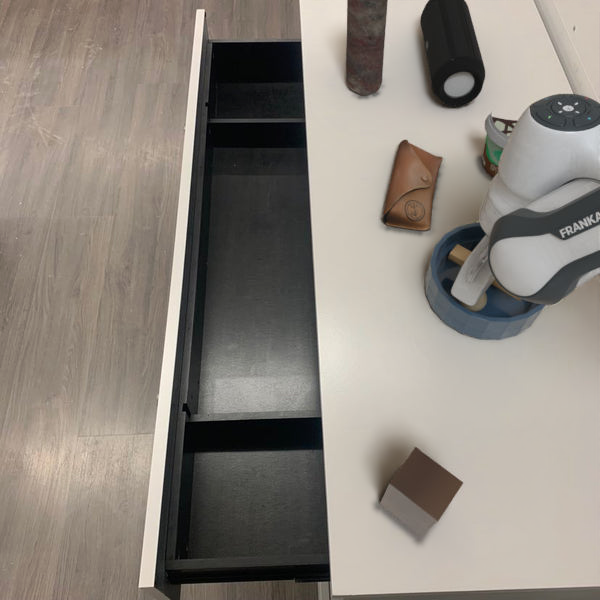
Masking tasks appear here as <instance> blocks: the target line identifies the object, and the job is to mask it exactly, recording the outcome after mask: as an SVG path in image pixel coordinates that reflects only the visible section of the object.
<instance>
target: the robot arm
mask: <svg viewBox="0 0 600 600" xmlns="http://www.w3.org/2000/svg"><path fill="white" fill-rule="evenodd" d="M478 222H480V225H481V227H482V229H483V230H484V232H485V233H486V235H485V236H484V238H483V239H482V240H481V241H480V243H479V244H478V245H477V246H476V247H475V249H474V250H473V251H472V252H471V254H470V255H469V256H468V258H467V259H466V261H465V263H464V264H463V266H462V268H461V270H460V272H459V274H458V276H457V278H456V280H455V282H454V284H453V286H452V289H451V294H452V295H453V296H454V297H456V298H457V299H459V300H460V301H462V302H464V303H465V304H467V305H471V306H473V305H475V304H476V303H477V302H478V301H479V299H480V298H481V297H482V295H483V294H484V293H485V291H486V290H487V289H488V288H489V286H490V285H491V284H492V282H493V281H494V280H496V281H497V282H498V284H499V285H500V286H501V287H502V288H503V289H504V290H506V291H507V292H508V293H510V294H512V295H514V296H516V297H518V298H520V299H523V300H526V301H529V302H533V303H537V304H542V305H545V306H552V305H556V304H557V303H559V302H560V301H561V300H563V299H565V298H566V297H567V296H569V295H570V294H572V293H573V292H574V291H575V290H576V289H577V288H579V287H580V286H582V285H584V284H585V283H587V282H588V281H590V280H591V279H593V278H595V277H596V276H598V275H600V102H599V101H598V100H595V99H594V98H591V97H588V96H585V95H581V94H577V93H556V94H552V95H548V96H546V97H543V98H541V99H538V100H536V101H534V102H533V103H531V104H530V105H529V106H527V107H526V109H524V111H523V112H522V113H521V115H520V116H519V118H518V119H517V123H516V125H515V126H514V128H513V130H512V132H511V134H510V136H509V138H508V140H507V142H506V145H505V147H504V149H503V152H502V154H501V157H500V160H499V165H498V173H497V174H496V175H495V177H494V178H492V180H491V181H490V183H489V185H488V188H487V190H486V193H485V196H484V198H483V201H482V203H481V206H480V208H479V212H478Z"/></svg>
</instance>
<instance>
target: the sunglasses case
mask: <svg viewBox="0 0 600 600" xmlns="http://www.w3.org/2000/svg"><path fill="white" fill-rule="evenodd" d="M443 159H444V158H443V157H442V156H436V155H434V154H433V153H430V152H429V151H426V150H425V149H423V148H421V147H419V146H417V145H415V144H412V143H411V142H409V140H408V139H406V138H405V139H402V140H401V141H400V142H399V143H398V146H397V151H396V154H395V158H394V161H393V162H394V163H393V167H392V171H391V176H390V179H389V184H388V189H387V193H386V197H385V202H384V207H383V212H382V222H383V223H384V224H385V225H386V226H387V227H392V228H397V229H402V230H410V231H419V232H427V231H430V229H431V225H432V214H433V204H434V199H435V192H436V187H437V181H438V177H439V172H440V169H441V165H442V162H443Z"/></svg>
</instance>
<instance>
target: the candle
mask: <svg viewBox="0 0 600 600" xmlns="http://www.w3.org/2000/svg"><path fill="white" fill-rule="evenodd" d="M387 14H388V0H347V1H346V46H345V83H346V85H347V86H348V88H349V89H350V90H351V91H353V92H355V93H357V94H358V95H360V96H370V95H372V94H373V93H376V92H378V91H379V89H380V87H381V86H382V83H383V73H384V72H383V71H384V55H385V40H386V26H387Z"/></svg>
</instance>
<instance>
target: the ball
mask: <svg viewBox="0 0 600 600" xmlns="http://www.w3.org/2000/svg"><path fill="white" fill-rule="evenodd" d="M459 303H460V305H461V306H463V307H465V308H466V309H468V310H469V311H471V312H478V311H480V310H482V309H483V308H484V307H485V305H486V303H487V295H486V292H485V293H484V294H483V295H482V297H481V298H480V299H479V301H478V302H477V303H476V304H475V305H473V306H471V305H467V304H465V303H464V302H462V301H460V300H459Z"/></svg>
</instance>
